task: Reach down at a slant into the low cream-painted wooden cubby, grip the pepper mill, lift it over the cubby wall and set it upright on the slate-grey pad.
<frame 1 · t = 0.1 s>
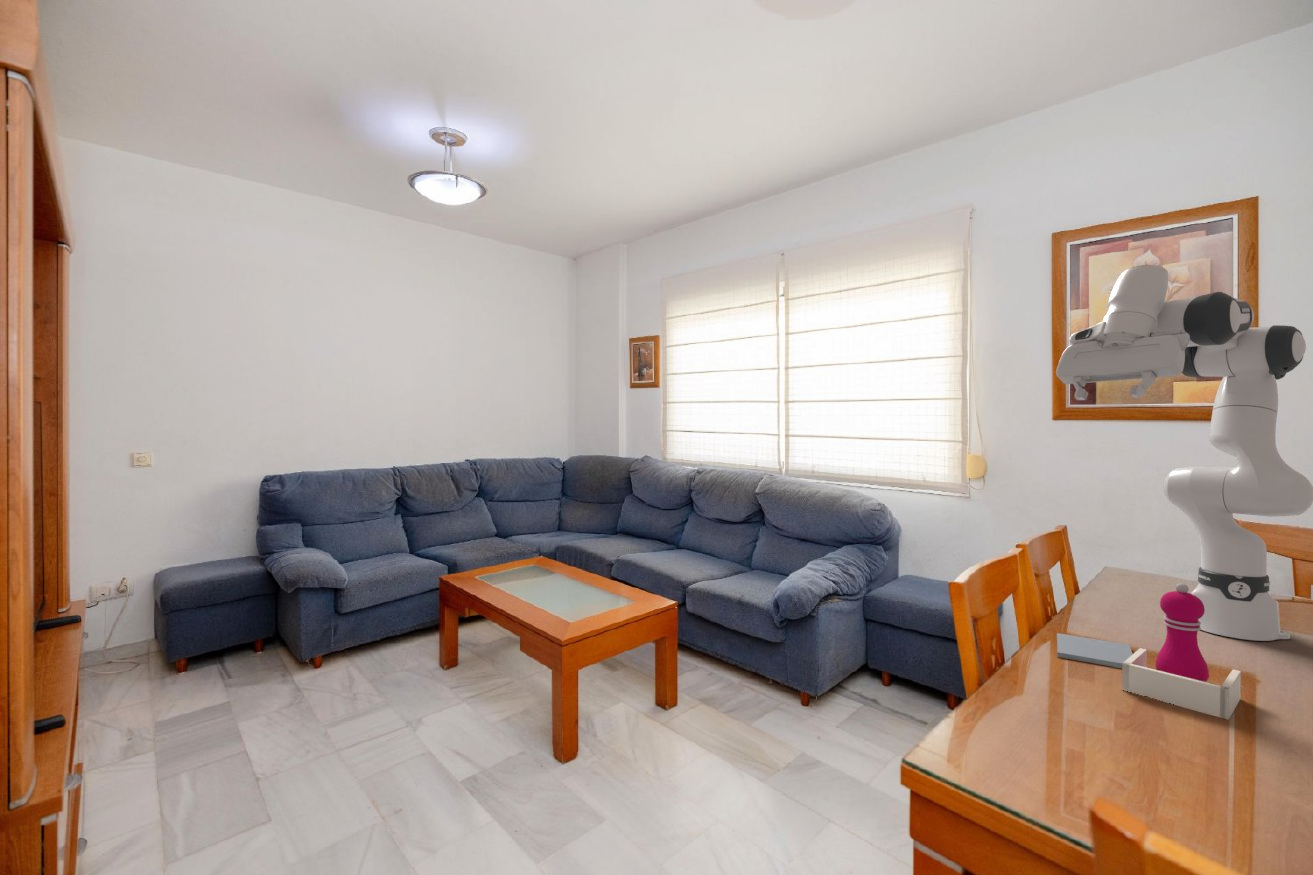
hand: (1107, 397, 112), 54 cm above the table, tool tilted 30°, fingers open, 8 cm apart
cubby: (1181, 692, 105), on the table
pepper mill: (1181, 694, 105), on the table
pad: (1093, 652, 124), on the table
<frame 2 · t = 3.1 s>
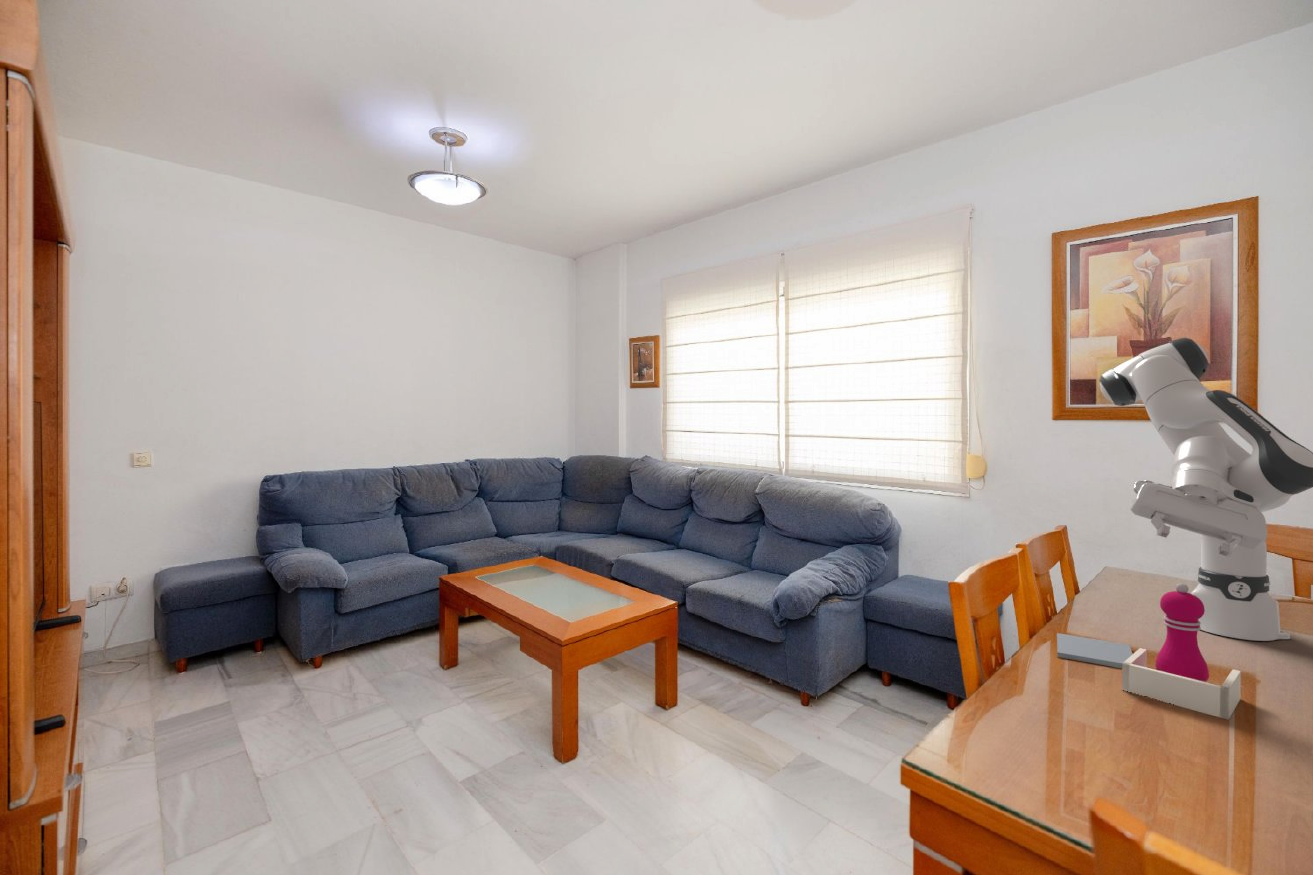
hand: (1193, 544, 111), 26 cm above the table, tool tilted 50°, fingers open, 8 cm apart
nothing on the table moved.
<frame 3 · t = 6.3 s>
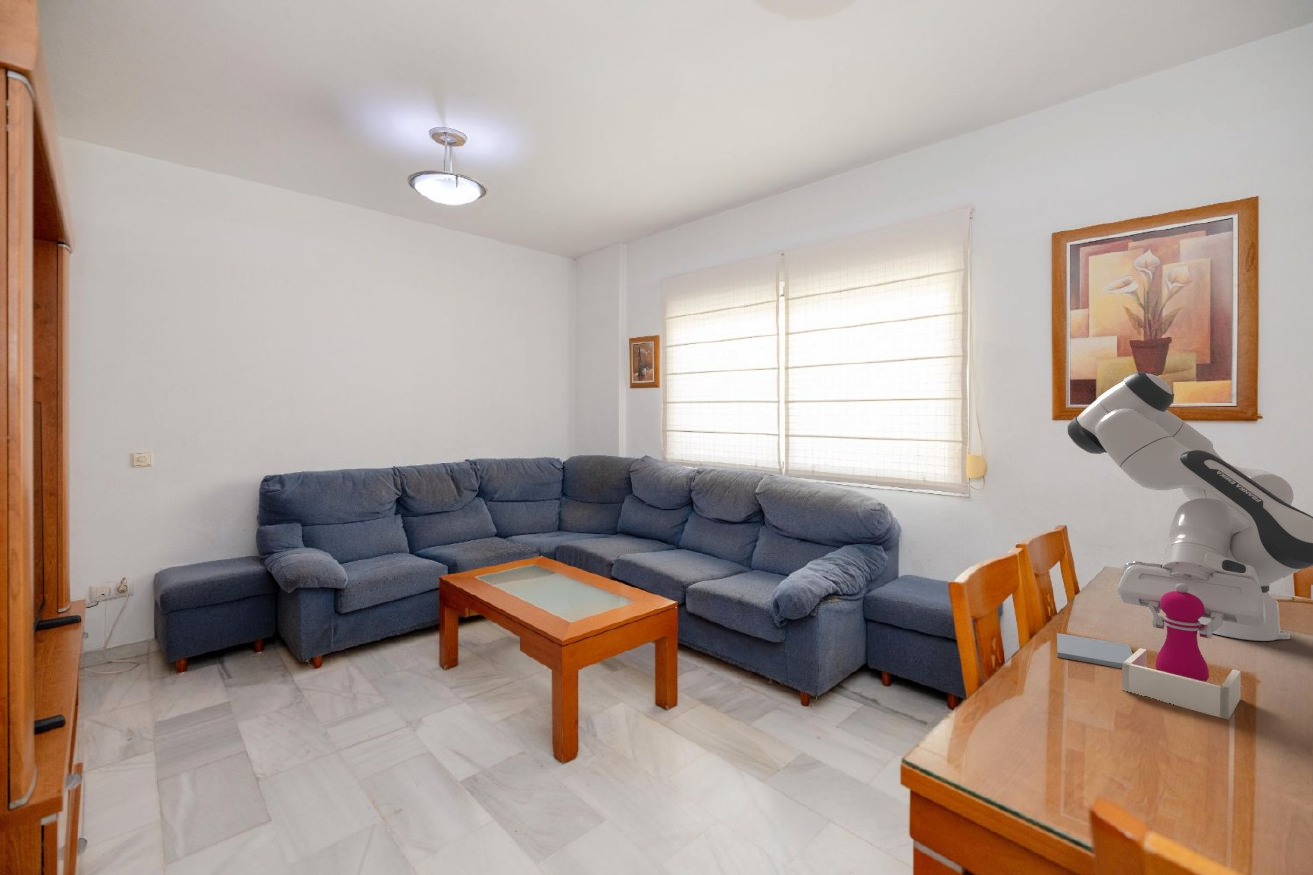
hand: (1181, 631, 105), 11 cm above the table, tool tilted 45°, fingers closed on pepper mill, 5 cm apart
pepper mill: (1181, 694, 105), on the table, touching gripper
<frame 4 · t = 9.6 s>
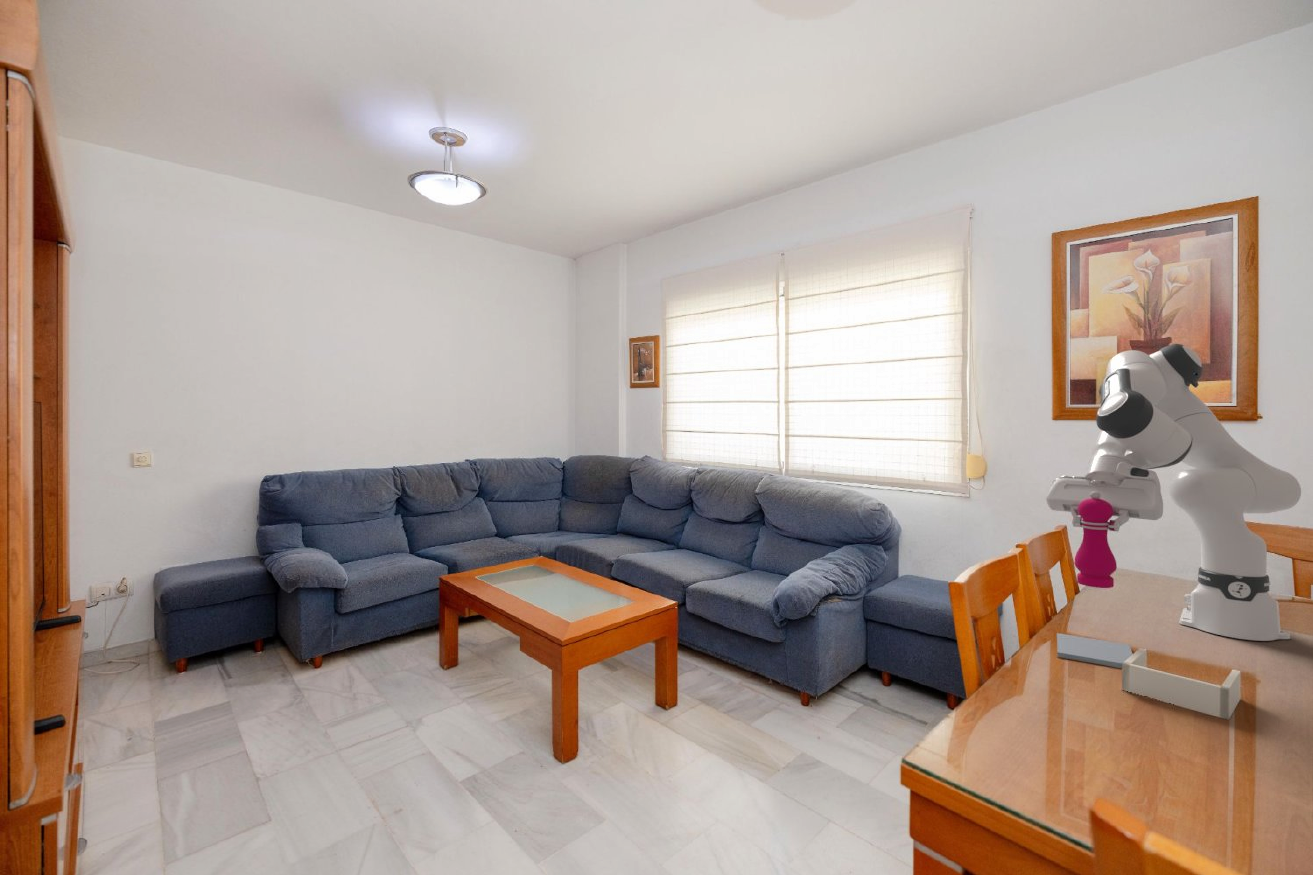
hand: (1094, 527, 123), 27 cm above the table, tool tilted 45°, fingers closed on pepper mill, 5 cm apart
pepper mill: (1095, 585, 124), point 15 cm above the table, touching gripper
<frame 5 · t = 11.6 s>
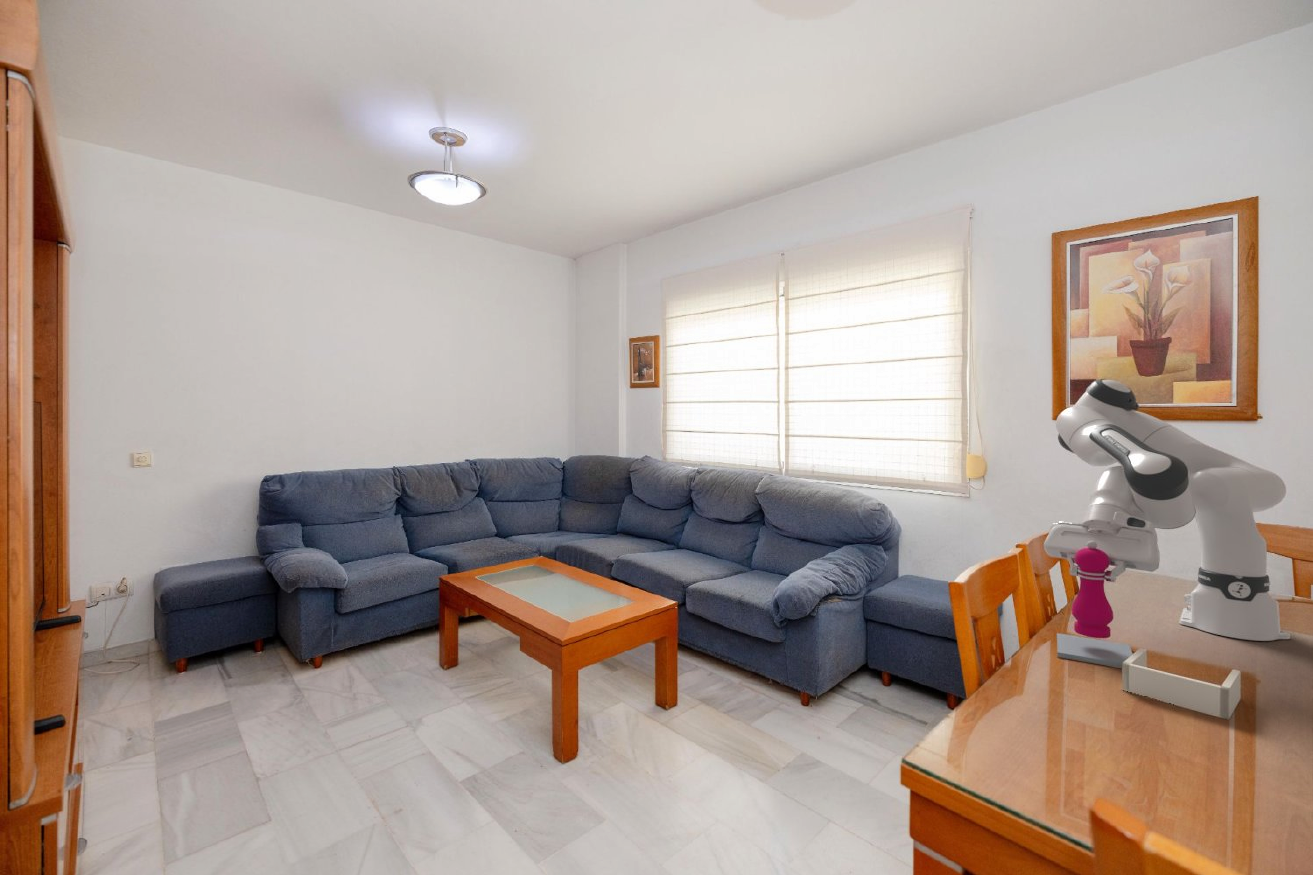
hand: (1091, 577, 124), 16 cm above the table, tool tilted 45°, fingers closed on pepper mill, 5 cm apart
pepper mill: (1092, 634, 125), point 4 cm above the table, touching gripper
when the fingers open (14 cm above the table, at t = 13.1 s): pepper mill moves 3 cm, resting on pad.
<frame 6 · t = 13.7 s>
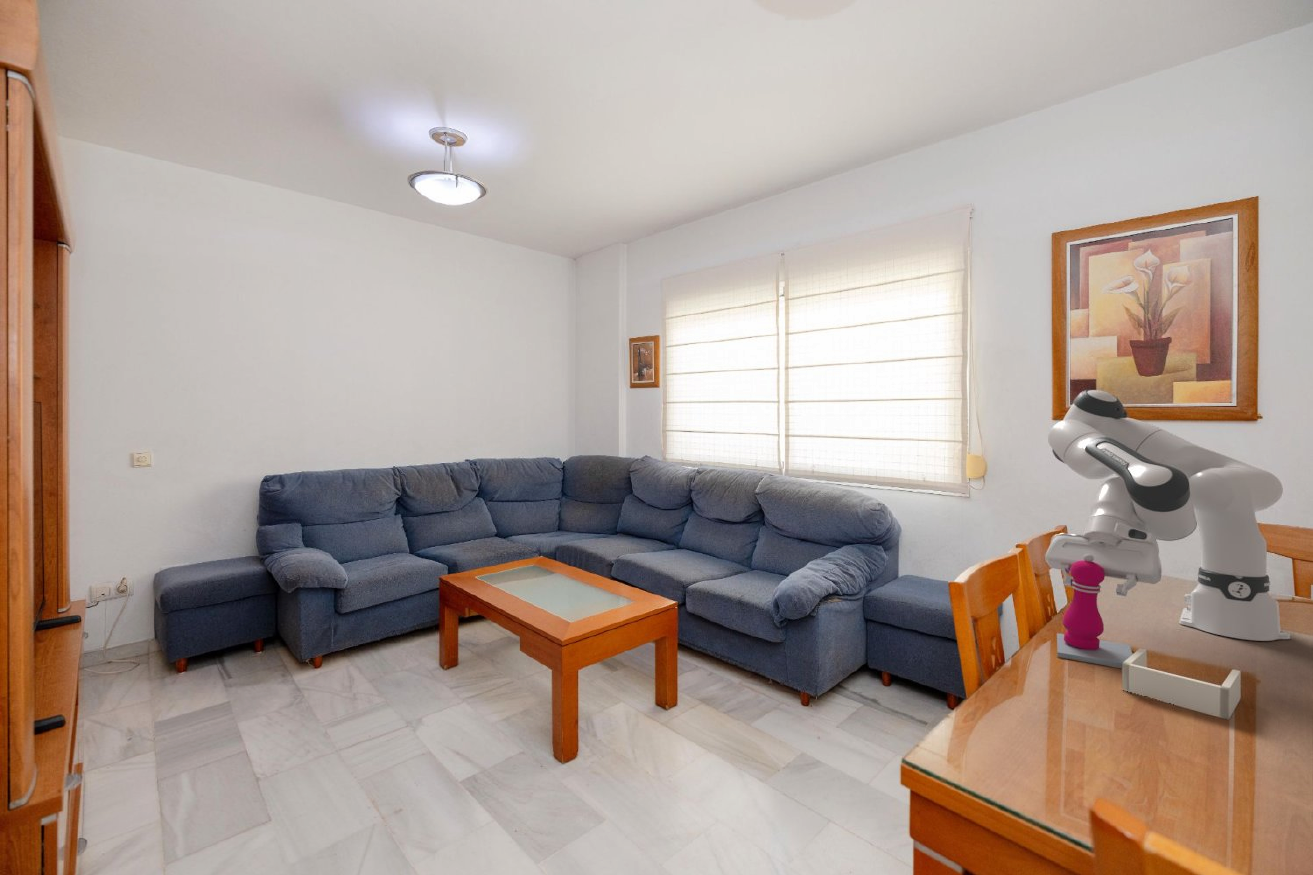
hand: (1093, 589, 124), 14 cm above the table, tool tilted 45°, fingers open, 8 cm apart
pepper mill: (1081, 644, 126), point 1 cm above the table, touching gripper, pad
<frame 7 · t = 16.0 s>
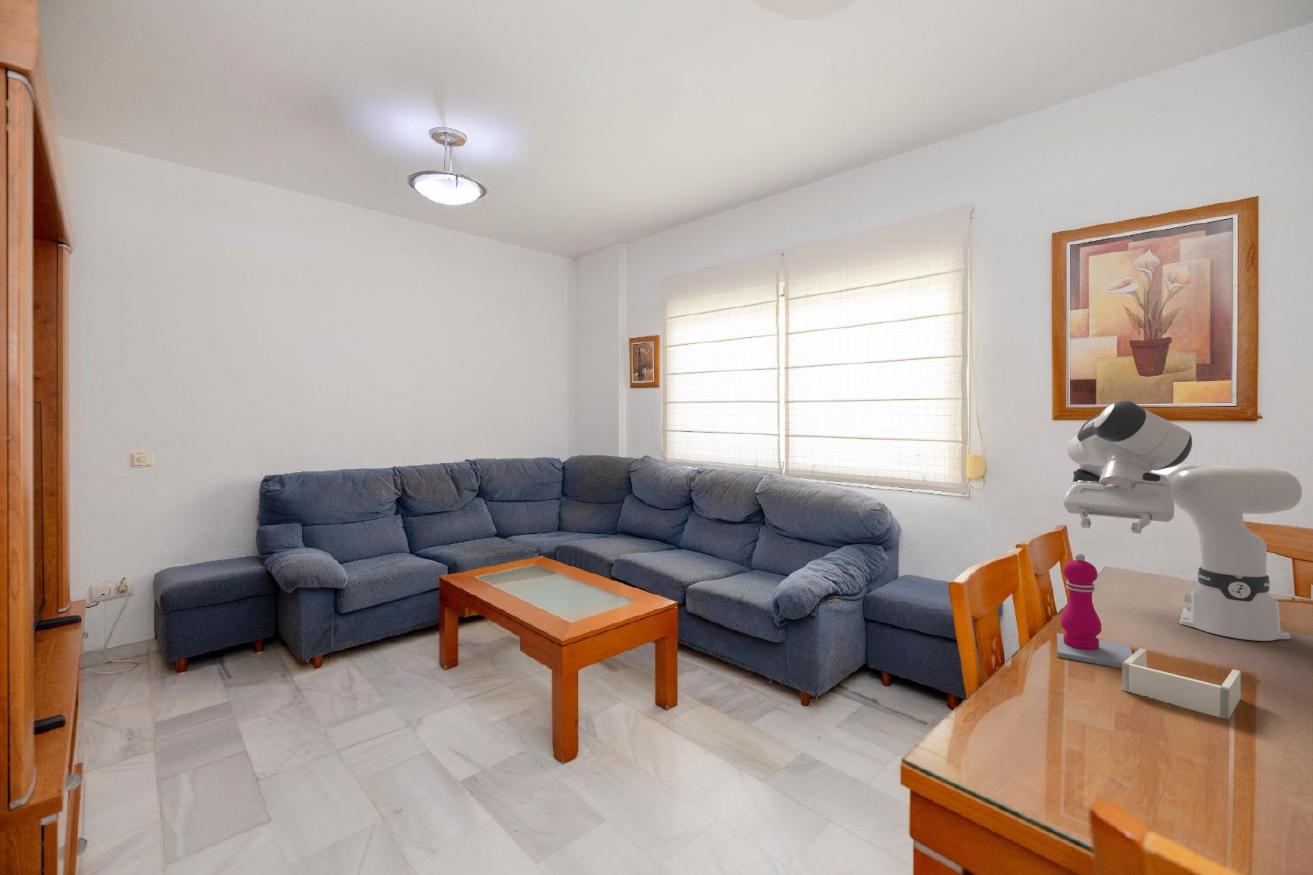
hand: (1109, 528, 132), 25 cm above the table, tool tilted 45°, fingers open, 8 cm apart
pepper mill: (1081, 645, 126), point 1 cm above the table, touching pad
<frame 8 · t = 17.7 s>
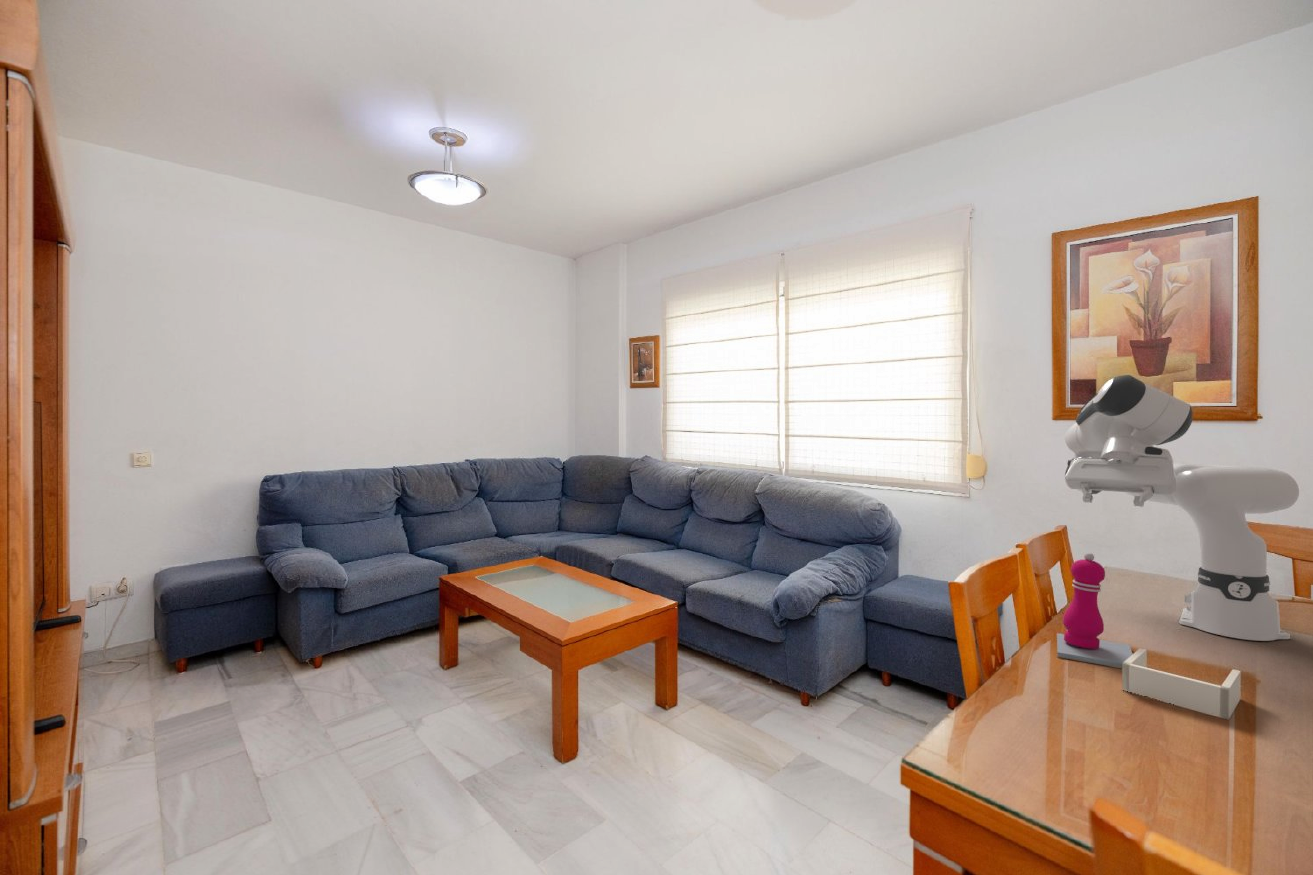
hand: (1111, 502, 132), 31 cm above the table, tool tilted 45°, fingers open, 8 cm apart
at the end: pepper mill inside the target area on the pad (2.3 cm from its centre), point 1.1 cm above the pad's base; pepper mill tilted 5°; the gripper is holding nothing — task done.
